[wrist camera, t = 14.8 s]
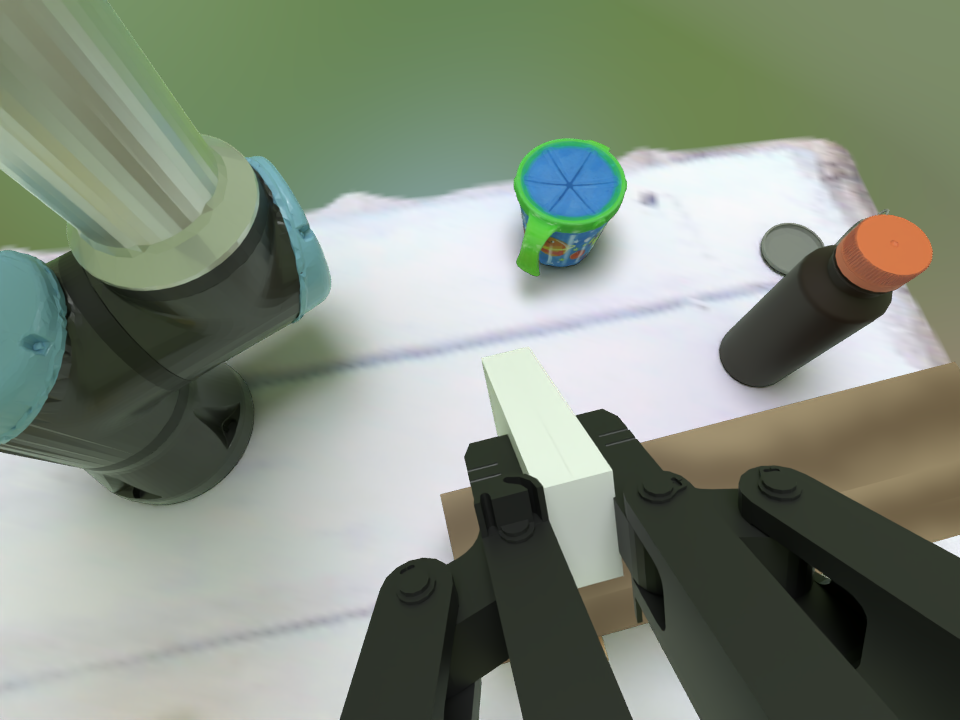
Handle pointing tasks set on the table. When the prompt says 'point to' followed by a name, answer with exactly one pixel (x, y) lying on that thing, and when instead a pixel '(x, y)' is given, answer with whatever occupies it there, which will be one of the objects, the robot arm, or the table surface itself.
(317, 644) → the table surface
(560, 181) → the snack cup
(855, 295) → the bottle
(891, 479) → the console
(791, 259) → the pocket watch
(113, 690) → the table surface
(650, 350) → the table surface
